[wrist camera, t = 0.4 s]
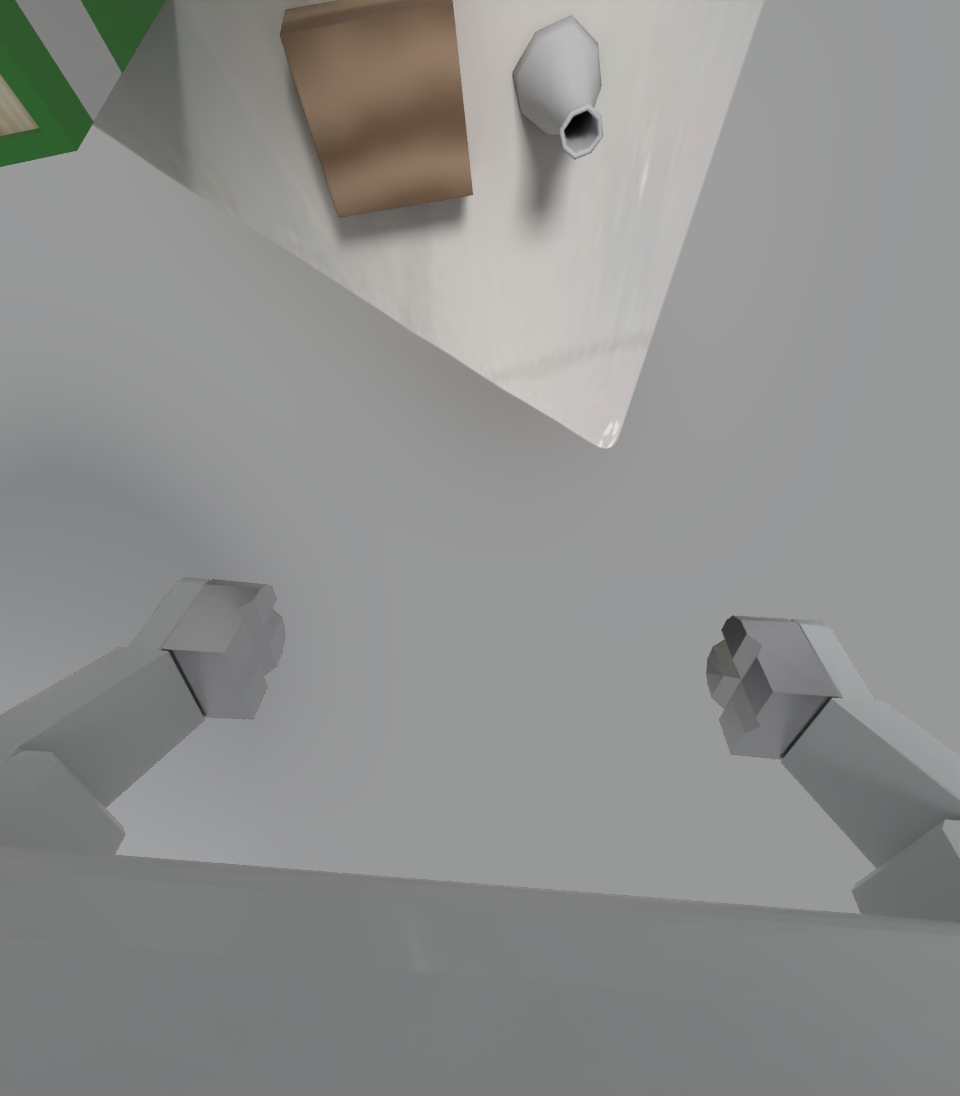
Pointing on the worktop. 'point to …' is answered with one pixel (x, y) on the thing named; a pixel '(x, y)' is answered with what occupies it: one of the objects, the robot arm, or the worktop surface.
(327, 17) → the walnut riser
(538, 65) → the flask
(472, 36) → the worktop surface
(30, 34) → the hardback book
